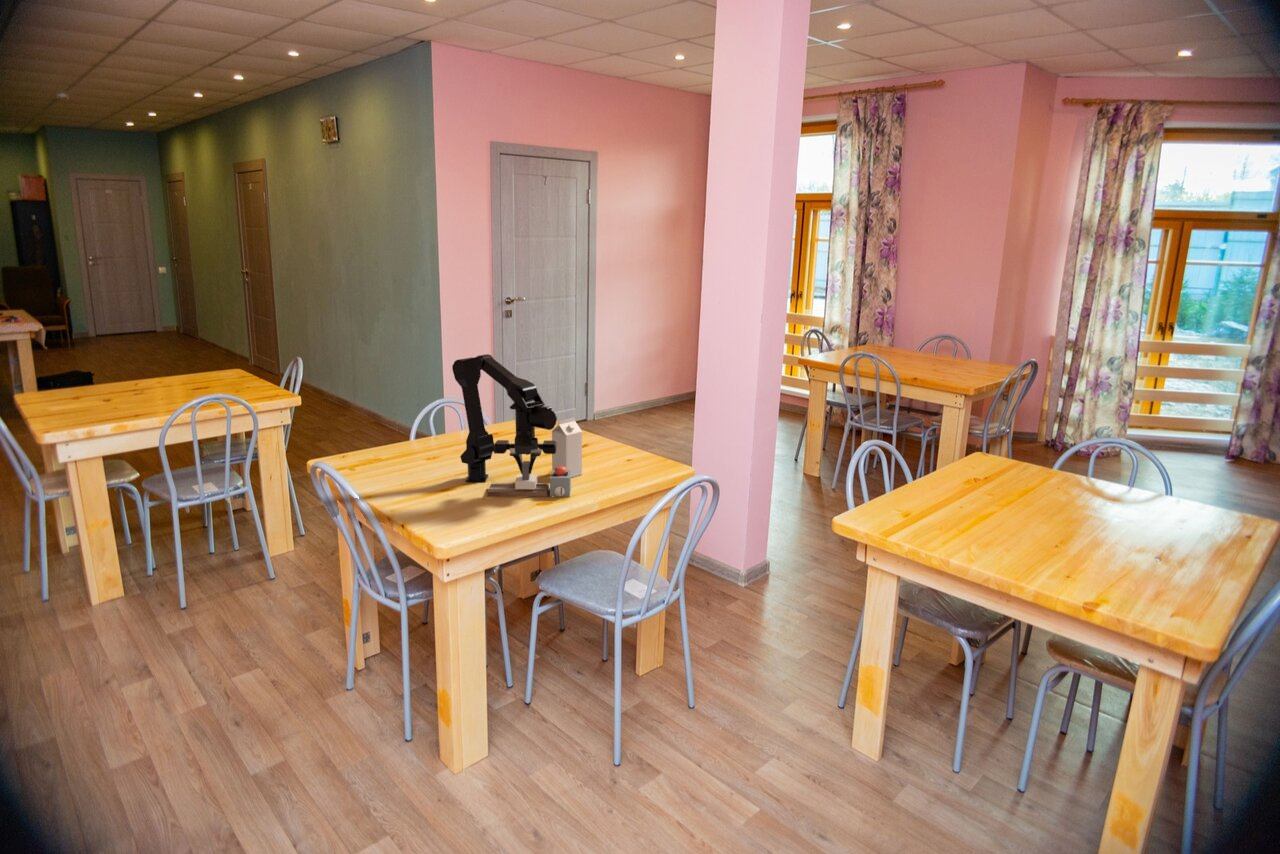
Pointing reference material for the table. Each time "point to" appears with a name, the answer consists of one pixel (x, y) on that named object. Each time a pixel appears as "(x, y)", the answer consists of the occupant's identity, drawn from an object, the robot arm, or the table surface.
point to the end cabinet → (560, 484)
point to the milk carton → (568, 446)
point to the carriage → (526, 478)
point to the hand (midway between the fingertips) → (526, 473)
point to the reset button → (560, 470)
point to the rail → (516, 490)
